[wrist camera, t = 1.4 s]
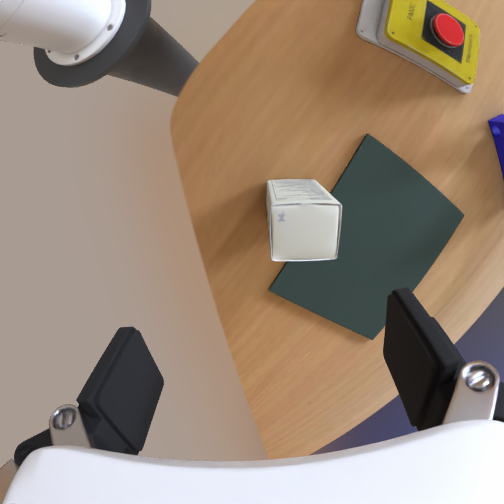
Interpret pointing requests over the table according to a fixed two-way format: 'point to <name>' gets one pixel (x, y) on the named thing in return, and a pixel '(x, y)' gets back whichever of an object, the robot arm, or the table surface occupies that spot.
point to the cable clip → (498, 137)
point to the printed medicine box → (302, 220)
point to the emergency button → (424, 36)
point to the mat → (373, 242)
